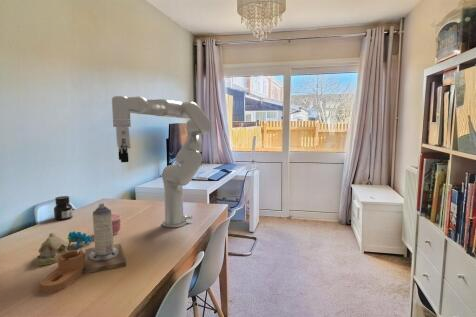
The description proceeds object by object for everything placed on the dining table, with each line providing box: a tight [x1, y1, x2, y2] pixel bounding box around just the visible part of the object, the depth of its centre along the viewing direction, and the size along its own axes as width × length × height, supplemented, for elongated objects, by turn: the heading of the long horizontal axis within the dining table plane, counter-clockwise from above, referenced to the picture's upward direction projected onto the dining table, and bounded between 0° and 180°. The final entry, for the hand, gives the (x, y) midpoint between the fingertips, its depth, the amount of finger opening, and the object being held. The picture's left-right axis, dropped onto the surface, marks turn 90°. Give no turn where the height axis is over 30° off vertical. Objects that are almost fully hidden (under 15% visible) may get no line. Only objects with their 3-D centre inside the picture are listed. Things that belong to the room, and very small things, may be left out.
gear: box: [67, 231, 93, 249], centre depth 138 cm, size 11×6×10 cm
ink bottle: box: [53, 195, 73, 221], centre depth 177 cm, size 10×9×12 cm
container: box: [112, 213, 122, 236], centre depth 154 cm, size 10×10×8 cm
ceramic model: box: [34, 232, 69, 266], centre depth 127 cm, size 14×11×10 cm
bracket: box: [39, 249, 85, 294], centre depth 110 cm, size 18×8×7 cm, turn 176°
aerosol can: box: [92, 203, 114, 256], centre depth 125 cm, size 7×7×20 cm
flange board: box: [84, 243, 127, 274], centre depth 126 cm, size 14×20×3 cm
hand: (123, 160), depth 146 cm, fingers open, 9 cm apart
